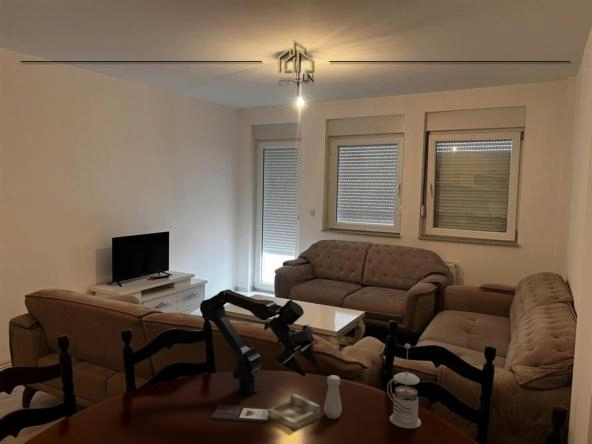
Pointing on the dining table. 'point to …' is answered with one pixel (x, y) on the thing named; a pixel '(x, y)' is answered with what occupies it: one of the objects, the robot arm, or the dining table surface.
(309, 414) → the maple tray
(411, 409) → the french press
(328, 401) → the salt shaker
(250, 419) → the chocolate bar
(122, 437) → the dining table surface
